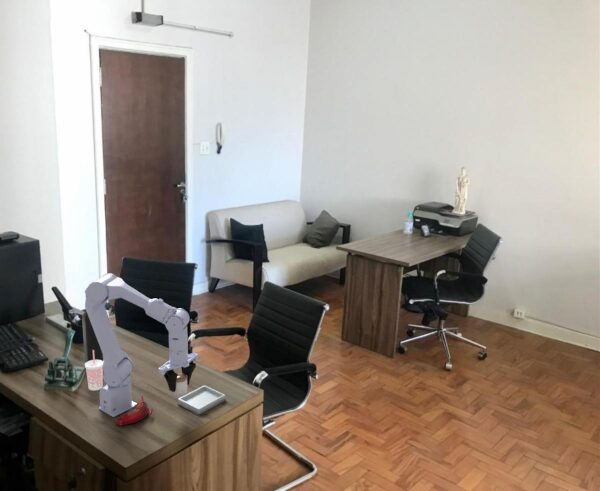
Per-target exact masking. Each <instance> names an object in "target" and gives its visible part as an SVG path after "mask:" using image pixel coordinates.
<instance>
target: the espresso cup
mask: <svg viewBox="0 0 600 491" xmlns="http://www.w3.org/2000/svg"><path fill="white" fill-rule="evenodd" d="M176 373H177V374H178V376H177V379H176V390H175V392H172V391H170V392H171V395H172V396H174V397H182V396H184V395H186V394H188V385H187V374H185V373H182V372H176Z"/></svg>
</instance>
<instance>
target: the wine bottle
mask: <svg viewBox="0 0 600 491" xmlns="http://www.w3.org/2000/svg"><path fill="white" fill-rule="evenodd" d="M81 324H82V339H83V353H84V364H85V363H86V362H88V361H90V360H93V350H94V356H95V360H102V361H104V356H103V353H102V350H101V348H100V345H99V343H98V340H97V337H96V335H95V332H94V329H93V327H92V324H91V322H90V319H89V316H88V314H87V311H86V310H85V311H84V312H83V313H82V317H81Z"/></svg>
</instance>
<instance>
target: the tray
mask: <svg viewBox="0 0 600 491" xmlns="http://www.w3.org/2000/svg"><path fill="white" fill-rule="evenodd" d="M224 401H226V394H224V393H222V392H220V391H217V389H214V388H212V387H210V386H207V385H202V386H200V387H198V388H197V389H194V390H193V391H190V392H187V394H185V395H183V396H179V398H177V404H178V405H179V406H180V407H183V408H185V409H186V410H188V411H191V412H192V413H194V414H196V415H198V416H200V415H202V414H203V413H205V412H206V411H209V410H210V409H212V408H214V407H215V406H218V405H219V404H221V403H223V402H224Z"/></svg>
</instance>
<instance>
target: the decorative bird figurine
mask: <svg viewBox="0 0 600 491" xmlns="http://www.w3.org/2000/svg"><path fill="white" fill-rule="evenodd" d="M153 411H154V409H153V408H151V410H150V407H149V406H148V403H147V402H145V401H144V397H143V395H141V396H140V401H139V402H137V404H136V405H135V406H134V407H132V408H131V409H129V410H127V411H126V412H124V413H123V414H121V415H120V416H119V417H118V418H117V419H116V420H115V422H116V424H117V425H119V426H125V425H129V424H134V423H136V422H139V421H141V420H143V419H144V418H145V417H147V415H148V417H150V416H151V415H152V414H153ZM148 413H149V414H148Z"/></svg>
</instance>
